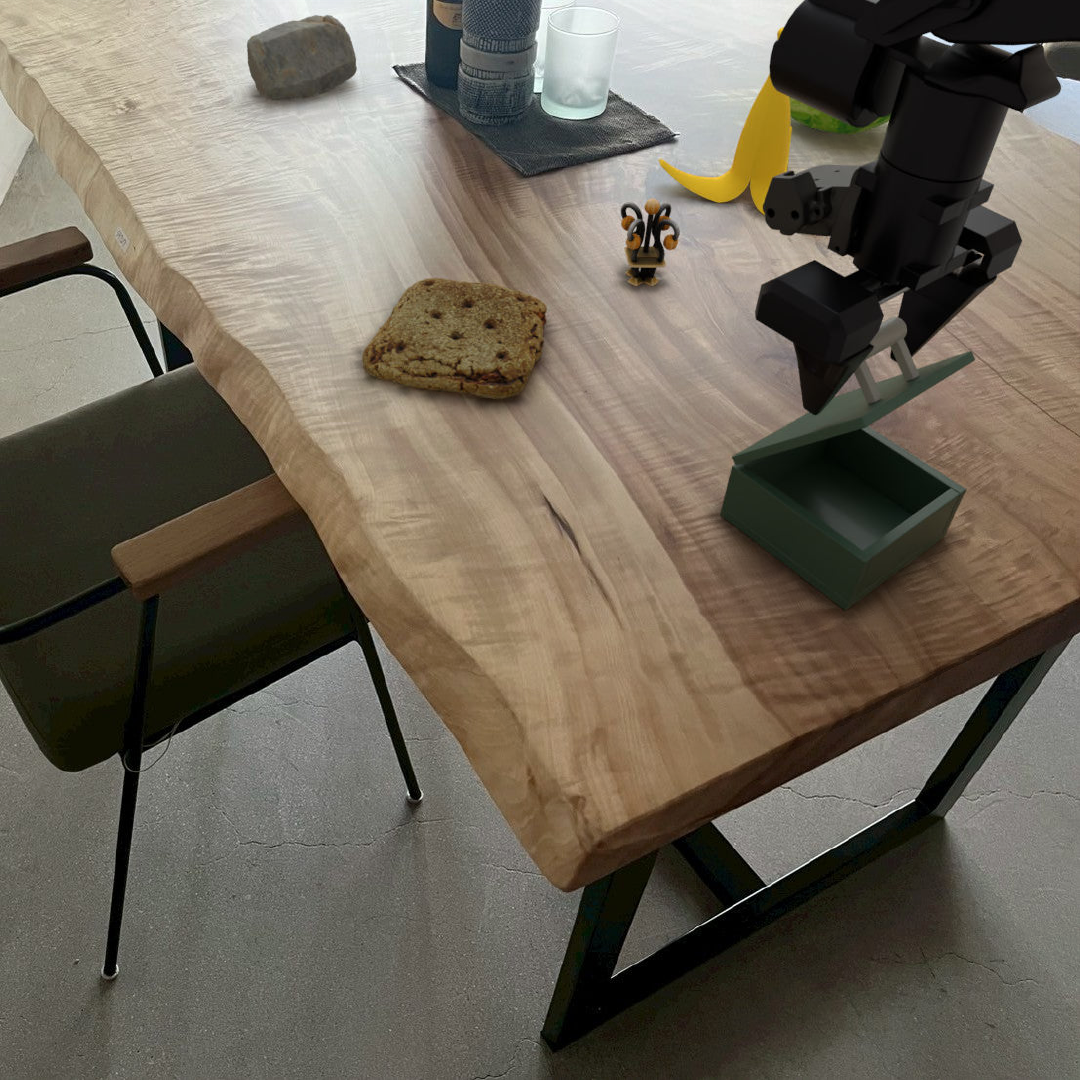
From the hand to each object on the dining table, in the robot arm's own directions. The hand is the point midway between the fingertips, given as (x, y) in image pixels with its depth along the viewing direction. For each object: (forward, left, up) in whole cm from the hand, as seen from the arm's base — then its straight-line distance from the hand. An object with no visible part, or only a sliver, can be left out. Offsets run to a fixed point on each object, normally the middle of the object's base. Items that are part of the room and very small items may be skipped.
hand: (855, 385), depth 69 cm
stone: (+51, -68, -12) cm, 85 cm away
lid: (0, 0, -2) cm, 2 cm away
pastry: (+28, -18, -12) cm, 35 cm away
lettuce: (-12, -69, -12) cm, 71 cm away
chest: (-1, +1, -12) cm, 12 cm away
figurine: (+12, -31, -12) cm, 35 cm away
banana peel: (-2, -48, -12) cm, 49 cm away
